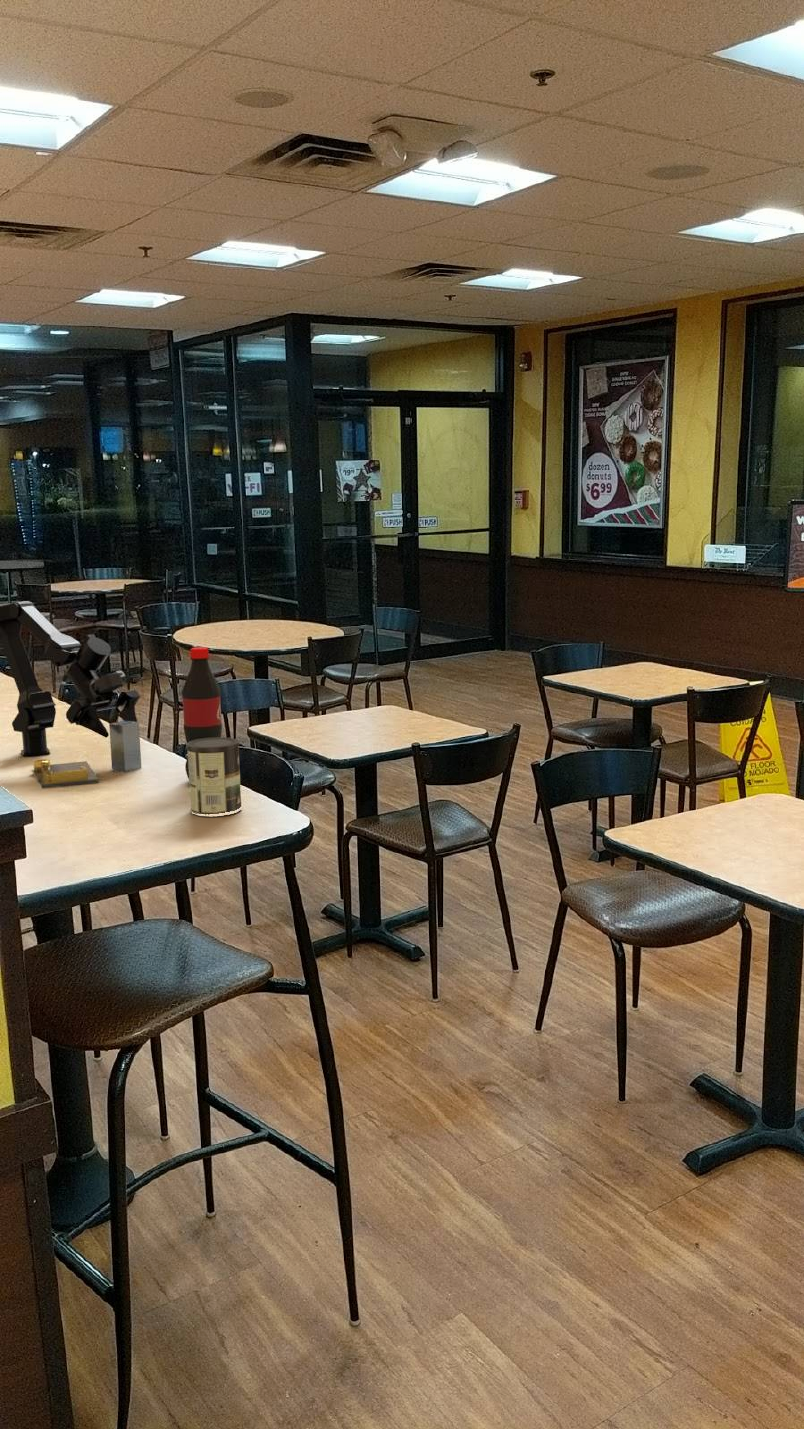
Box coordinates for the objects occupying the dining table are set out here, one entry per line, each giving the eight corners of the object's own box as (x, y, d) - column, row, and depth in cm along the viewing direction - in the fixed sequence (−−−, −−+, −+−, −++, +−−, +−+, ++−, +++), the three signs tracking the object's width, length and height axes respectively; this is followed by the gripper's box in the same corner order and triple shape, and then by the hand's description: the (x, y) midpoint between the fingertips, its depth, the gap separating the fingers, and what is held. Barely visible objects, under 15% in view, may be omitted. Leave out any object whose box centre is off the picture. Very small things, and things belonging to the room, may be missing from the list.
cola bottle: (228, 776, 246) (223, 645, 241) (218, 785, 238) (212, 649, 233) (192, 776, 247) (186, 645, 242) (181, 785, 239) (174, 649, 234)
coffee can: (231, 801, 225) (228, 734, 222) (249, 813, 216) (246, 743, 213) (182, 808, 220) (179, 740, 217) (199, 820, 211) (196, 749, 208)
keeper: (32, 769, 256) (31, 758, 255) (86, 764, 260) (85, 753, 260) (40, 788, 237) (40, 776, 237) (98, 782, 242) (97, 770, 242)
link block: (112, 769, 255) (109, 723, 253) (128, 765, 259) (125, 720, 257) (125, 772, 252) (122, 725, 250) (141, 767, 256) (138, 722, 254)
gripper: (70, 665, 247) (106, 717, 242) (132, 656, 262) (167, 704, 258) (50, 697, 252) (85, 748, 248) (112, 686, 268) (146, 734, 263)
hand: (122, 732), depth 254 cm, fingers open, 9 cm apart
